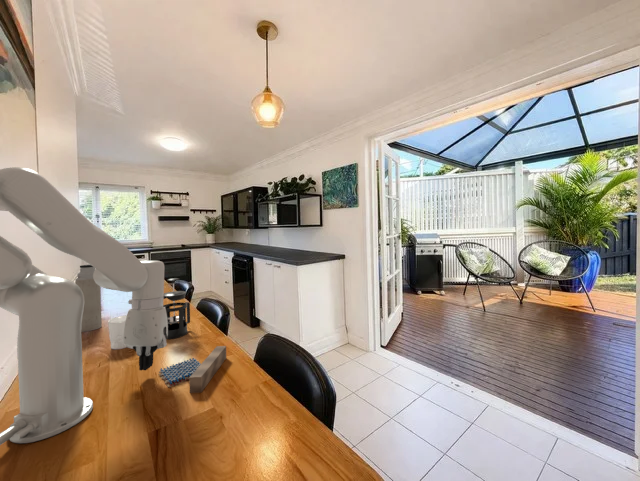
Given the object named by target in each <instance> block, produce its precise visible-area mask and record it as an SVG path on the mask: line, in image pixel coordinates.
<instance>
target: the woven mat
mask: <svg viewBox="0 0 640 481" xmlns="http://www.w3.org/2000/svg"><path fill="white" fill-rule="evenodd" d="M201 364H202V362H200V361H199V360H198V359H197V358H194V357H193V358H189V359H187V360H183V361H181V362H178V363H176V364H174V363H173V364H172V365H170V366H169V367H168V366H166V367H163V368H160V369H159V370H160V371H159V372H158V373H159V374H158V376H160V379H162V380H163V381H164V384H165V385H166V387H167V388H171V387H175V386H176V385H179V384H181V383H184V382H186V381H189V377H190V376H191V375H192V374H193V373H194V372H195V370H196V369H197V368H198V367H199V366H200V365H201Z"/></svg>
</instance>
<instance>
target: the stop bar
mask: <svg viewBox="0 0 640 481" xmlns="http://www.w3.org/2000/svg"><path fill="white" fill-rule="evenodd" d="M226 359H227V346H226V345H216V347H214V349H213V350H212V351H211V352H210V353H209V355H207V357H206V358H205V359H204V360H203V361H202V362H201V365H200V366H199V367H198V368H197V369H196V370H195V372H194V373H193V374H192V375H191V376H190V377H189V380H188V381H189V382H188V383H189V393H190V394H191V393H192V394H194V393H203V391H204V390H205V388H206V387H207V386H208V384H209V383H210V382H211V380H212V379H213V377H214V376H215V375H216V373H217V372H218V370H220V368H221V366H222V365H223V364H224V362H225V361H226ZM224 360H225V361H224Z"/></svg>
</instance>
